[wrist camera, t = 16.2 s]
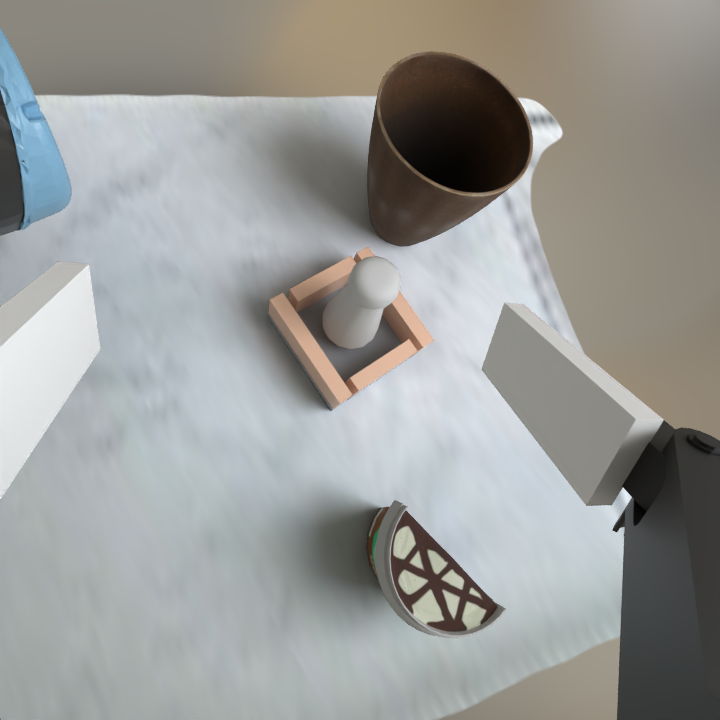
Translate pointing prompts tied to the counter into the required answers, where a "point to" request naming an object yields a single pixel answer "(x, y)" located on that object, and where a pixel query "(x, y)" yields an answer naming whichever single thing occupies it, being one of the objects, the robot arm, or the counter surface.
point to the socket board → (334, 363)
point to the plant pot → (441, 145)
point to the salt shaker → (361, 303)
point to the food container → (425, 578)
